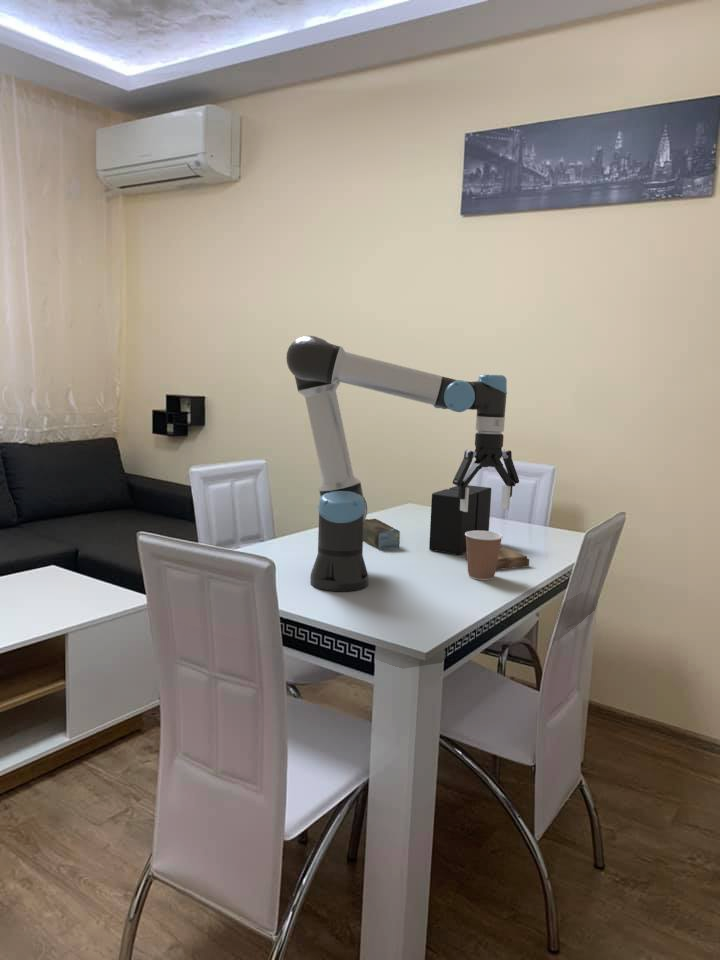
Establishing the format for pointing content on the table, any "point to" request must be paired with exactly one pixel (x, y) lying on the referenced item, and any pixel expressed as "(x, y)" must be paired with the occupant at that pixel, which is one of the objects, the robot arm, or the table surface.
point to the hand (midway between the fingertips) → (484, 510)
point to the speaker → (457, 518)
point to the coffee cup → (482, 553)
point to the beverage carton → (380, 535)
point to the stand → (511, 559)
